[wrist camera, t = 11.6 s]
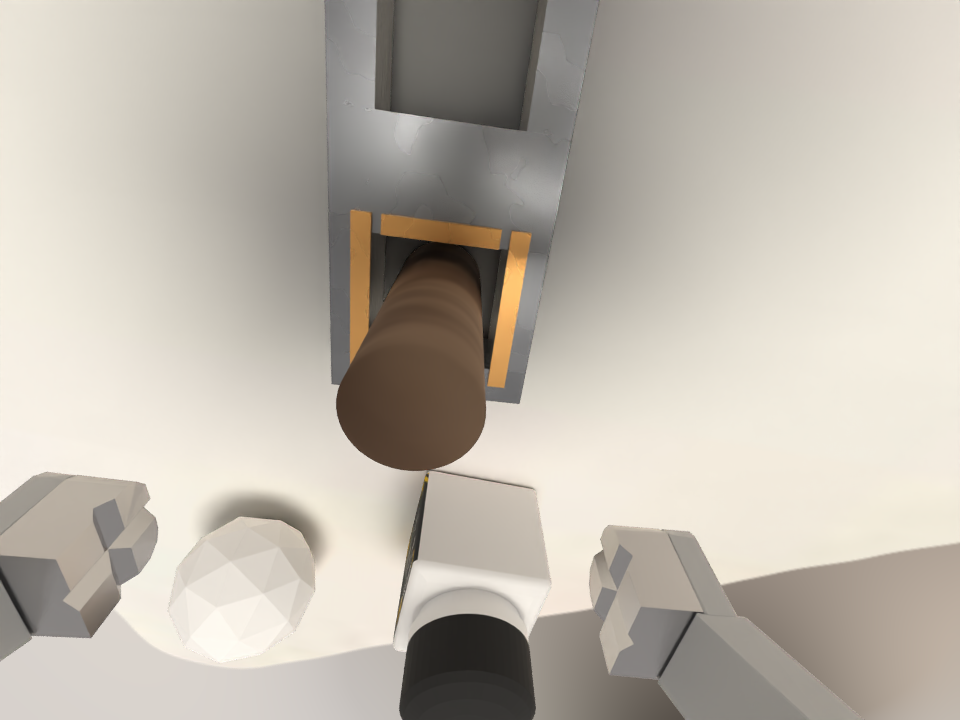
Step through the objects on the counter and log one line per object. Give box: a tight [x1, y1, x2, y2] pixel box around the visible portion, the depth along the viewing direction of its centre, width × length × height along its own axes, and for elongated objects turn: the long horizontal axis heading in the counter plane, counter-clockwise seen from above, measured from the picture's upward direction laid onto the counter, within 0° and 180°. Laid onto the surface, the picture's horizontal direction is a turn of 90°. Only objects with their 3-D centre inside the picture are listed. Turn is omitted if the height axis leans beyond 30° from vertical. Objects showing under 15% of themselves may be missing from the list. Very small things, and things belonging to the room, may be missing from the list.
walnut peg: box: [336, 242, 486, 471], centre depth 18 cm, size 4×4×12 cm
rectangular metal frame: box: [325, 0, 599, 404], centre depth 17 cm, size 29×9×4 cm, turn 172°
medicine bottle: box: [393, 471, 551, 720], centre depth 25 cm, size 7×7×12 cm
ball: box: [168, 517, 315, 663], centre depth 27 cm, size 8×8×8 cm
